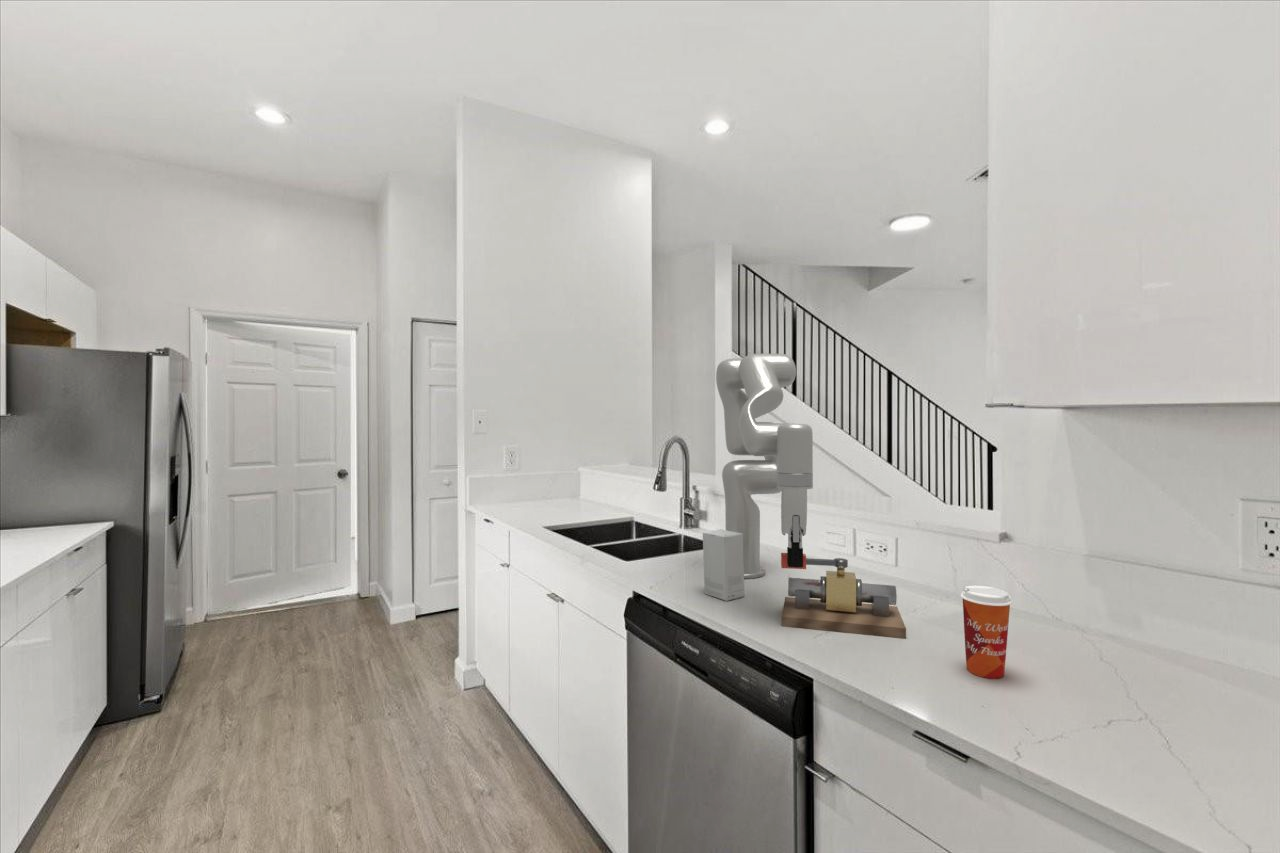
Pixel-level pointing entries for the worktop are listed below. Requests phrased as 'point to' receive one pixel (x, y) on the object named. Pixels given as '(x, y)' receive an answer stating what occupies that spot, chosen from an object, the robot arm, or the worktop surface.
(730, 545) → the skincare box
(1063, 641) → the worktop surface
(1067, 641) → the worktop surface
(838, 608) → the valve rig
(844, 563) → the valve lever
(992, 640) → the paper cup
